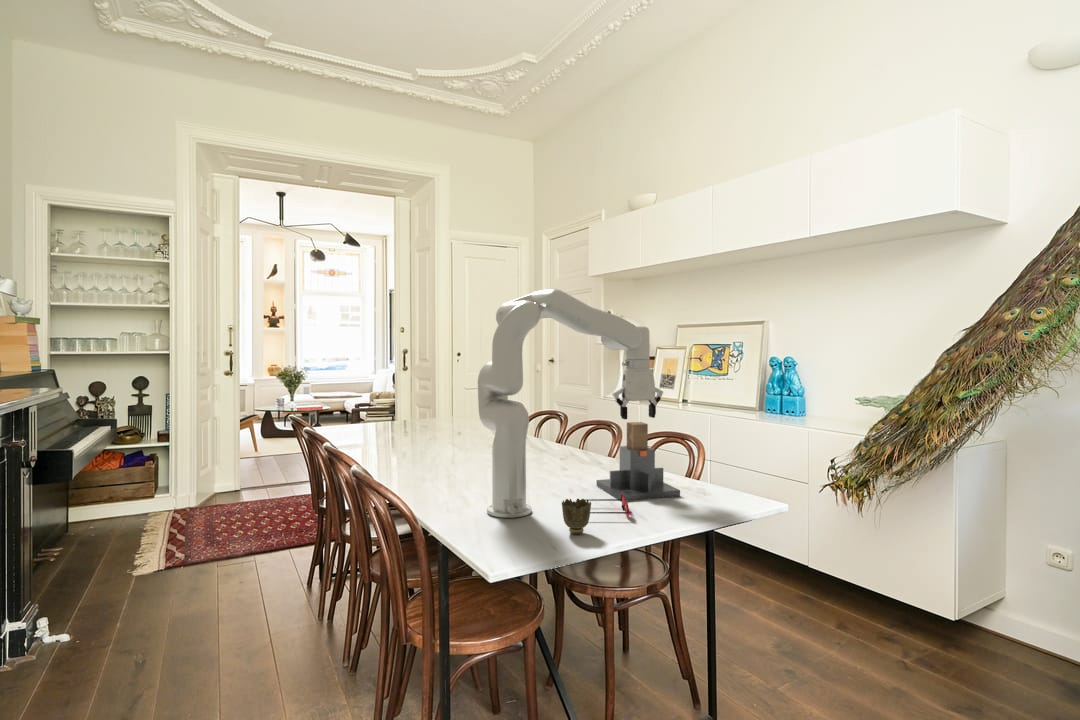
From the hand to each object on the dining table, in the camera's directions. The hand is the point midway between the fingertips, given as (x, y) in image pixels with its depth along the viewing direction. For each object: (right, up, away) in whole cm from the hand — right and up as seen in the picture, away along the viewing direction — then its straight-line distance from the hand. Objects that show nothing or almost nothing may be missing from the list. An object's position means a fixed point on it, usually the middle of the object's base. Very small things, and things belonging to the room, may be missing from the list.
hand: (638, 418), depth 193 cm
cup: (-22, -25, -42) cm, 54 cm away
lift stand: (0, -24, +1) cm, 24 cm away
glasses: (-15, -25, -25) cm, 38 cm away
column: (0, -21, 0) cm, 21 cm away
